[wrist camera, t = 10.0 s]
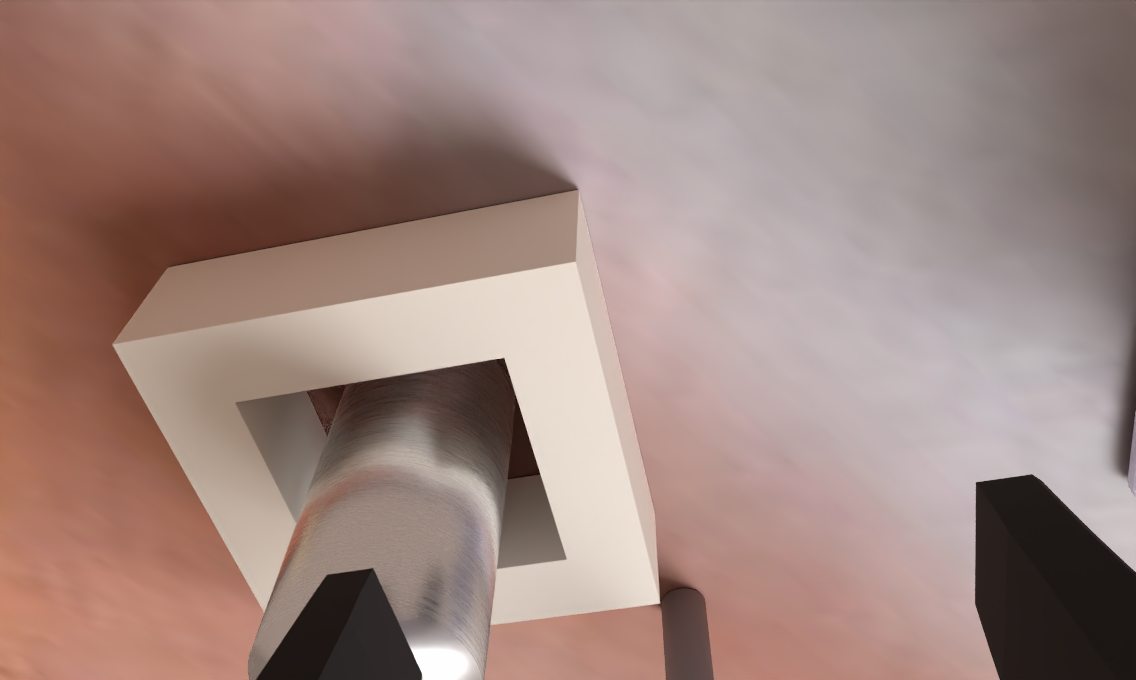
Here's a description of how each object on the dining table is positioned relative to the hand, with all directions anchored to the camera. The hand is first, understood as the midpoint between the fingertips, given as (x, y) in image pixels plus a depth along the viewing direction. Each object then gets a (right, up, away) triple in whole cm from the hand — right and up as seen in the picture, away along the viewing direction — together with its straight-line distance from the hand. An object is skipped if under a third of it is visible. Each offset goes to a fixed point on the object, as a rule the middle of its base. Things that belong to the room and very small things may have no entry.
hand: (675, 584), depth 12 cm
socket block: (-5, +2, +12) cm, 13 cm away
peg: (-5, +2, +12) cm, 13 cm away
